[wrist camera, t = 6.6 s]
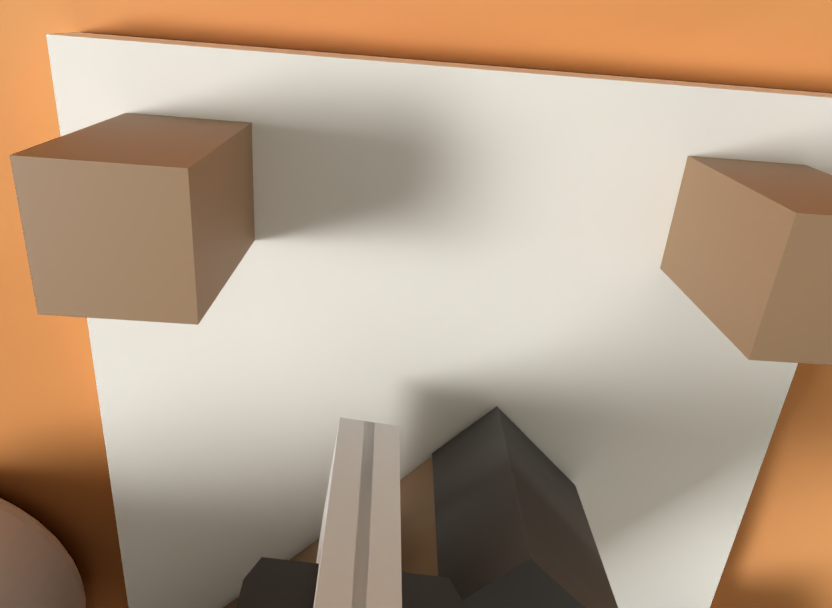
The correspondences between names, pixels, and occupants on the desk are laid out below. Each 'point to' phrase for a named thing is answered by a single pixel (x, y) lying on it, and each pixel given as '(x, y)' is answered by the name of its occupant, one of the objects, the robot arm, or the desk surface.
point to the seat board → (425, 288)
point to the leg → (498, 524)
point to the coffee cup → (35, 565)
